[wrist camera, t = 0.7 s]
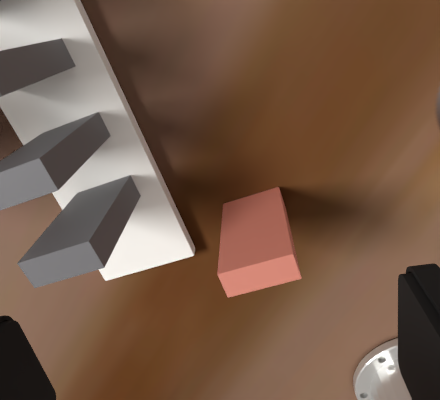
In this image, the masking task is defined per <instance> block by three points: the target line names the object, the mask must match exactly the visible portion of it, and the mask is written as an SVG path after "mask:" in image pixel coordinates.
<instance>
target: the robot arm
mask: <svg viewBox="0 0 440 400" xmlns="http://www.w3.org/2000/svg"><path fill="white" fill-rule="evenodd" d="M353 386H354V390H355V394H356V397H357V399H358V400H440V268H439V267H438V266H437V265H436V264H426V265H418V266H410V267H407V270H406V274H400V275H399V278H398V338H396V339H394V340H391V341H388V342H386V343H384V344H382V345H380V346H378V347H376V348H375V349H374V350H372V351H371V352H370V353H368V354H367V355H366V356H365V357H364V358H363V359H362V360H361V362H360V363H359V365H358V366H357V368H356V370H355V373H354V376H353ZM0 400H56V393H55V390H54V388H53V387H52V385H51V383H50V381H49V379H48V377H47V375H46V373H45V372H44V370H43V368H42V366H41V364H40V362H39V360H38V359H37V357H36V355H35V353H34V351H33V349H32V347H31V345H30V344H29V342H28V340H27V338H26V336H25V334H24V332H23V331H22V329H21V327H20V325H19V324H18V322H16V321H14V320H13V319H12V318H11V317H9V316H0Z"/></svg>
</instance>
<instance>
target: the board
mask: <svg viewBox="0 0 440 400" xmlns="http://www.w3.org/2000/svg"><path fill="white" fill-rule="evenodd" d="M61 38H62V39H63V41H64V43H65V45H66V47H67V49H68V51H69V53H70V55H71V57H72V59H73V61H74V63H75V65H76V66H75V67H73V68H71V69H68V70H66V71H63V72H61V73H58V74H56V75H53V76H51V77H48V78H46V79H44V80H41V81H39V82H36V83H34V84H31V85H29V86H26V87H24V88H22V89H19V90H17V91H14V92H12V93H9V94H7V95H4V96H2V97H0V108H1V109H2V111H3V112H4V114H5V116H6V117H7V119H8V121H9V122H10V124H11V126H12V127H13V129H14V131H15V132H16V134H17V136H18V137H19V139H20V141H21V142H22V144H23V146H24V145H25V144H27V143H28V142H30V141H31V140H33V139H34V138H36V137H37V136H39V135H40V134H42V133H44V132H46V131H49V130H52V129H54V128H57V127H60V126H62V125H65V124H67V123H70V122H73V121H75V120H78V119H81V118H83V117H86V116H89V115H91V114H94V113H97V112H99V113H100V115H101V117H102V119H103V121H104V123H105V125H106V127H107V129H108V131H109V133H110V135H111V136H110V137H109V138H108V139H107V140H106V141H105V142H104V143H103V144H102V145H101V146H100V147H99V149H98V150H97V151H96V152H95V153H94V154H93V155H92V156H91V157H90V158H89V159H88V160H87V161H86V162H85V163H84V164H83V165H82V166H81V167H80V168H79V169H78V170H77V171H76V173H75V174H74V175H73V176H72V177H71V178H70V179H69V180H68V181H67V182H66V183H65V184H64V185H63V186H62V187H61V188H60V189H59V190H58V191H55V192H52V193H53V195H54V197H55V198H56V200H57V202H58V203H59V205H60V207H61V208H62V210H63V209H64V208H65V207H66V205H67V204H68V203H69V202H70V201H71V199H72V198H73V197H74V196H75V195H76V194H77V193H79V192H81V191H84V190H87V189H90V188H93V187H96V186H99V185H102V184H105V183H108V182H111V181H114V180H117V179H120V178H123V177H126V176H129V175H131V177H132V179H133V181H134V183H135V185H136V187H137V189H138V191H139V193H140V195H141V197H140V198H139V200H138V202H137V204H136V206H135V208H134V210H133V212H132V214H131V216H130V218H129V220H128V222H127V224H126V226H125V228H124V230H123V232H122V234H121V236H120V238H119V240H118V242H117V244H116V246H115V248H114V250H113V252H112V254H111V256H110V258H109V260H108V262H107V264H106V266H105V268H102V269H99V271H100V273H101V274H102V276H103V278H104V279H105V281H107V280H111V279H114V278H118V277H121V276H125V275H128V274H132V273H135V272H139V271H142V270H146V269H149V268H153V267H156V266H160V265H163V264H167V263H170V262H174V261H177V260H181V259H184V258H188V257H191V256H194V254H195V246H194V244H193V242H192V240H191V238H190V235H189V233H188V231H187V229H186V227H185V225H184V223H183V220H182V218H181V216H180V214H179V212H178V210H177V207H176V205H175V203H174V201H173V199H172V197H171V195H170V192H169V190H168V188H167V186H166V184H165V182H164V179H163V177H162V175H161V173H160V171H159V169H158V167H157V164H156V162H155V160H154V158H153V156H152V154H151V151H150V149H149V147H148V145H147V143H146V141H145V139H144V136H143V134H142V132H141V130H140V128H139V126H138V123H137V121H136V119H135V117H134V115H133V113H132V111H131V108H130V106H129V104H128V102H127V100H126V98H125V95H124V93H123V91H122V89H121V87H120V85H119V83H118V80H117V78H116V76H115V74H114V72H113V70H112V67H111V65H110V63H109V61H108V59H107V57H106V55H105V52H104V50H103V48H102V46H101V44H100V42H99V39H98V37H97V35H96V33H95V31H94V29H93V27H92V24H91V22H90V20H89V18H88V16H87V14H86V11H85V9H84V7H83V5H82V3H81V1H80V0H1V1H0V51H2V50H6V49H11V48H16V47H21V46H26V45H31V44H36V43H41V42H46V41H51V40H56V39H61Z"/></svg>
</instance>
